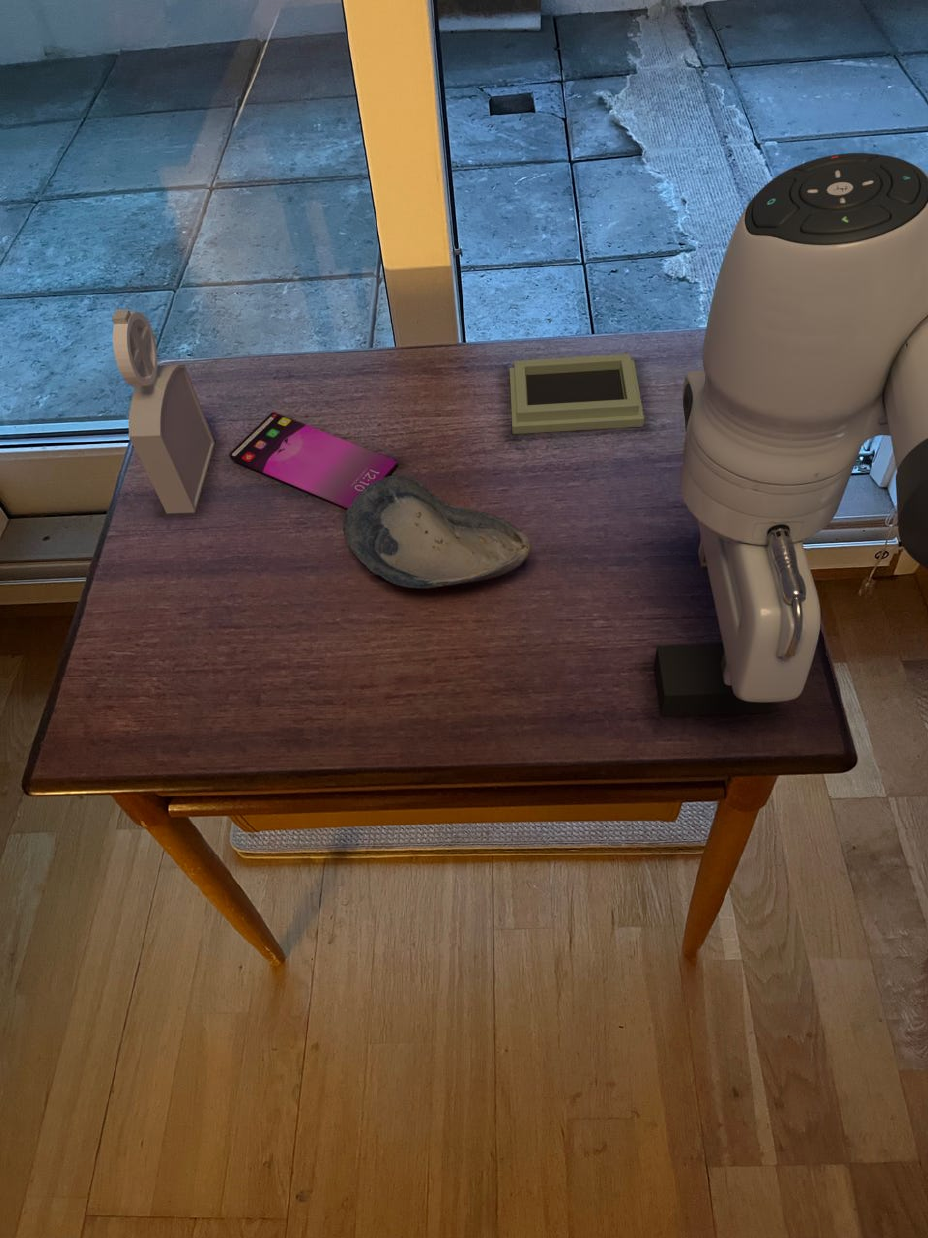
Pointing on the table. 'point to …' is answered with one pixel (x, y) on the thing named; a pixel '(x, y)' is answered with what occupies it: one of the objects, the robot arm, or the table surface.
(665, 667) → the black pad
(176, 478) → the gravestone
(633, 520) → the table surface
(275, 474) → the smartphone
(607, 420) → the pad
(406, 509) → the seashell
